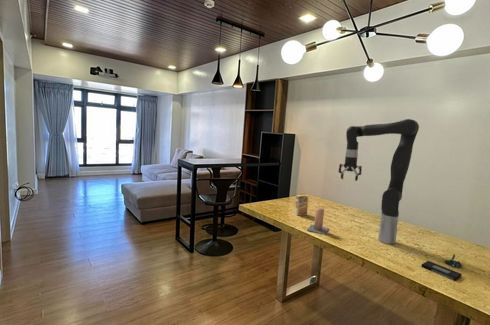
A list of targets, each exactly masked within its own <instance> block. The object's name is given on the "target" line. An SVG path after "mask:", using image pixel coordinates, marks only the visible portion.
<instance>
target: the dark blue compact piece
mask: <svg viewBox="0 0 490 325" xmlns="http://www.w3.org/2000/svg"><path fill="white" fill-rule="evenodd" d="M455 258H456V253H453V255H452V257H451V259H445V260H444V262H445V263H446V264H447V265H448V266H451V267H454V268H457V269H459V268H462V267H463V265H462V263H461V262H460V261H456V260H455Z"/></svg>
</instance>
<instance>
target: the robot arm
mask: <svg viewBox="0 0 490 325" xmlns="http://www.w3.org/2000/svg"><path fill="white" fill-rule="evenodd" d="M419 129H420V126H419V123H418V122H417V121H416V120H414V119H411V118H408V119H404V120H403V119H402V120H400V121H395V122H389V123H376V124H366V125H362V126H361V125H359V126H358V125H356V126H354V125H351V126H349V127H348V128H347V129H346V132H345V133H346V135H345V136H346V149H345V158H344V164H342V163H339V166H338V173H339V174H340V179H341V180H344V173H345V172H346V171H347V172H350V173H351V172H353V173H354V175H355V176H354V178H355V180H354V181H355V182H357V181H358V180H359V176H361V175H362V171H363V170H362V165H357V164H358V156H359V155H358V153H359V152H358V151H359V142H358V139H357V138H359V137H373V136H376V137H377V136H381V135H382V136H383V135H389V134H391V135H392V134H394V135H395V134H396V135H400V139H399V143H398V145H397V147H396V149H395V150H394V153H393V155H392V159H391V165H390V181H389V184H388V187H387V190H385V191H384V192H383V194H382V198H381V206H380V207H381V214H380V221H379V222H380V223H379V231H378V241H379V242H380V243H383V244H387V245H396V241H397V234H398V221H399V215H400V211H399V206H400V201H401V200H402V198H403V190H404V189H403V188H404V182H405V180H406V176H407V174H408V171H409V167H410V164H411V158H412V153H413V147H414V143H415V140H416V137H417V134H418V132H419ZM343 167H344V169H343V170H342V168H343ZM356 169H358V171H357V170H356Z"/></svg>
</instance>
